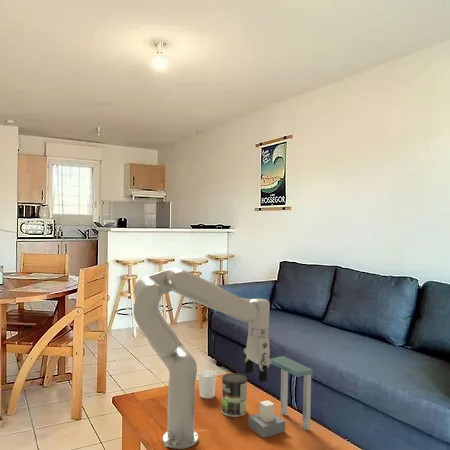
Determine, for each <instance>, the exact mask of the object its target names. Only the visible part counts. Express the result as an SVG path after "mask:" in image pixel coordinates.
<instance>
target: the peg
mask: <svg viewBox="0 0 450 450" xmlns="http://www.w3.org/2000/svg"><path fill="white" fill-rule="evenodd" d="M258 411H259V413H258V414H259V419H260V420H261V421H262V422H264V423H268V422H272V421H274V414H275V403H273V402H272V401H270V400H269V399H268V400H267V399H266V400H263V401H259V410H258Z"/></svg>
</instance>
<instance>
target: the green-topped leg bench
mask: <svg viewBox="0 0 450 450" xmlns="http://www.w3.org/2000/svg"><path fill="white" fill-rule="evenodd" d="M270 361H271V364H270V365H272V366H274V367H277V368H279V369H281V370H280V404H279V406H280V408H279V409H280V410H279V411H280V412H279V413H280V415H281V414H282V415H281V416H283V415H285V416H287V415H288V396H289V395H288V392H289V391H288V390H289V387H288V386H289V374H290V375H293V376H295V377H296V378H300V377H303V388H302V389H303V391H302V394H303V396H302V398H303V399H302V428H304V429H305V430H307V431H309V430H308V429H310V430H311V409H312V408H311V404H312V403H311V401H312V399H311V397H312V375H313V374H314V369H313V368H311V367H308V366H306V365H304V364H302V363H300V362H297V361H296V360H293V359H291V358H288V357H286V356H284V355H282V356H275V357H272V358H271V357H270ZM286 414H287V415H286ZM304 429H303V430H304ZM305 430H304V431H305Z"/></svg>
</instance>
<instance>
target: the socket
mask: <svg viewBox="0 0 450 450" xmlns="http://www.w3.org/2000/svg"><path fill="white" fill-rule="evenodd" d="M247 421H248V422H247V424H248V425H247V426H248V428H250V429H251V430H252V431H253V432H255V433H256V434H257V435H258V436H260V437H261V438H262V437H263V438H262V439H265V438H268V436H269V437H272V436H276V435H279V434H278V433H280V434H282V433H281V432H283V433H285V432H286V420H284V419H283V418H281V417H279V416H278V415H277V414H275V413H274V421H272V422H268V423H264V422H262V421H261V420H260V419H259V413H256V414H251V415H248V419H247ZM284 431H285V432H284ZM275 434H276V435H275Z"/></svg>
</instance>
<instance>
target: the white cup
mask: <svg viewBox="0 0 450 450" xmlns="http://www.w3.org/2000/svg"><path fill="white" fill-rule="evenodd" d="M216 384H217V372H215V370H208V369H207V370H201V371H200V372H198V389H199V397H200V398H202V399H213V398H214V397H215V393H216Z"/></svg>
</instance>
